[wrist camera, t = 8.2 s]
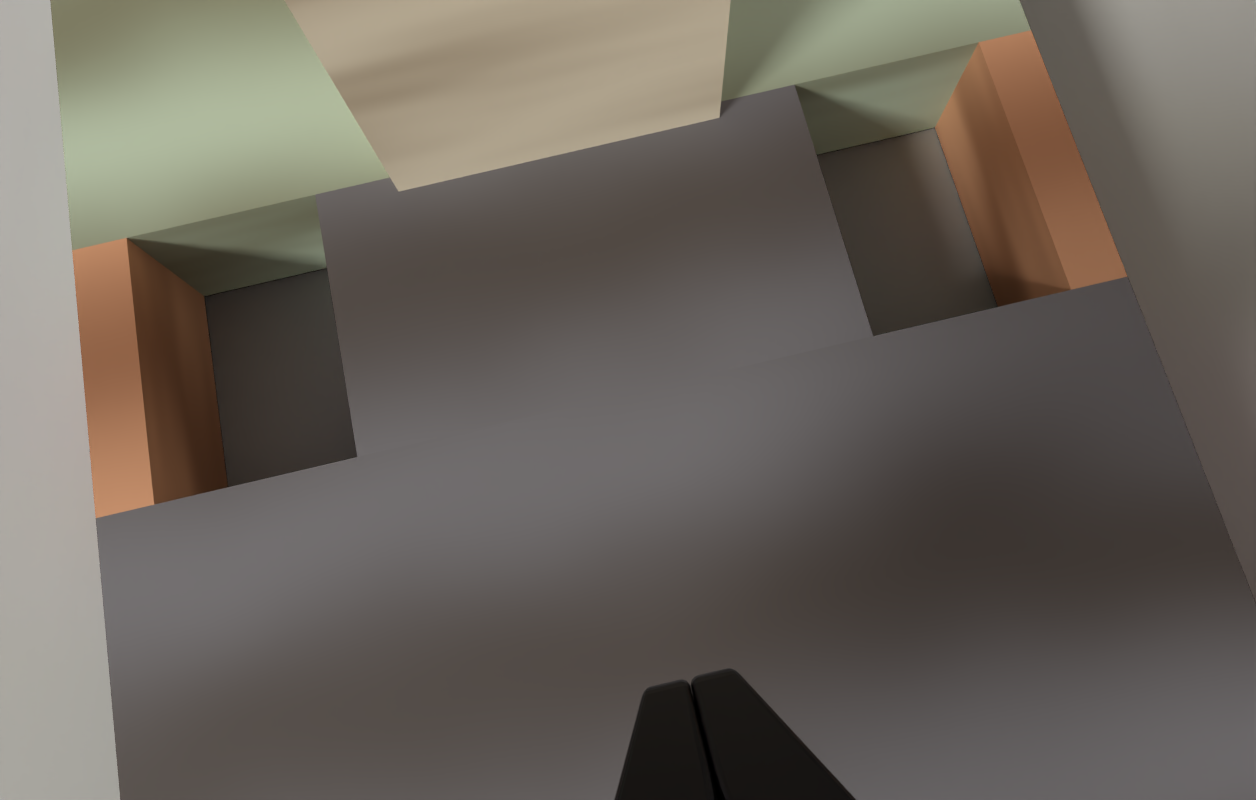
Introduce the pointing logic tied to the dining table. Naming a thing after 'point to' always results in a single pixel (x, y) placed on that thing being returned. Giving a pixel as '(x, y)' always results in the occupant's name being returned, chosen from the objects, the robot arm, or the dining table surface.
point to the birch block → (514, 75)
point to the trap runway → (638, 437)
